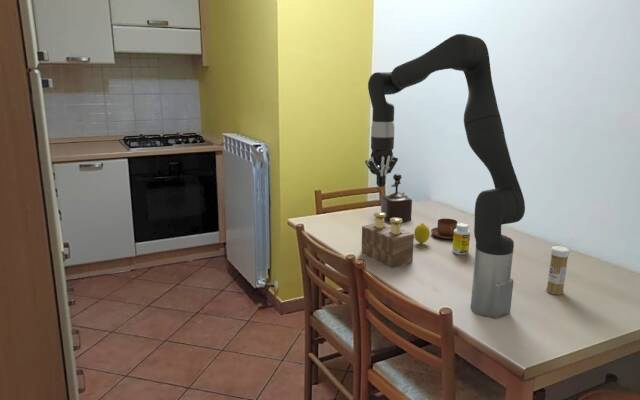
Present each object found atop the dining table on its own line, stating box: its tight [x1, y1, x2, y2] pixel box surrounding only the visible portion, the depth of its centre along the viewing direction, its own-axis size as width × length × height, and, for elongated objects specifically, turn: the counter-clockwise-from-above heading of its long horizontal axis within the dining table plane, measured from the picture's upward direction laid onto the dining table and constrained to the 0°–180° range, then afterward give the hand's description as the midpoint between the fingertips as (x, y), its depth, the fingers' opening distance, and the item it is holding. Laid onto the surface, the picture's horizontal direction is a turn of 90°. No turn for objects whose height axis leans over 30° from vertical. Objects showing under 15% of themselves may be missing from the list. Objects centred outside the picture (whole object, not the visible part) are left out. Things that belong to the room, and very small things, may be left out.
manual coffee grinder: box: [380, 173, 413, 223], centre depth 214 cm, size 16×11×18 cm
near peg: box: [389, 218, 403, 235], centre depth 163 cm, size 4×4×10 cm
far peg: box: [373, 211, 386, 229], centre depth 169 cm, size 4×4×10 cm
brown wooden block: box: [361, 222, 415, 269], centre depth 167 cm, size 16×9×10 cm, turn 35°
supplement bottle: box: [452, 222, 471, 256], centre depth 172 cm, size 6×6×10 cm
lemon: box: [413, 223, 431, 245], centre depth 181 cm, size 6×6×8 cm
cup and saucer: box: [430, 217, 458, 240], centre depth 190 cm, size 12×12×6 cm
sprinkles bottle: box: [546, 245, 570, 295], centre depth 141 cm, size 5×5×13 cm
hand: (380, 186), depth 165 cm, fingers closed
